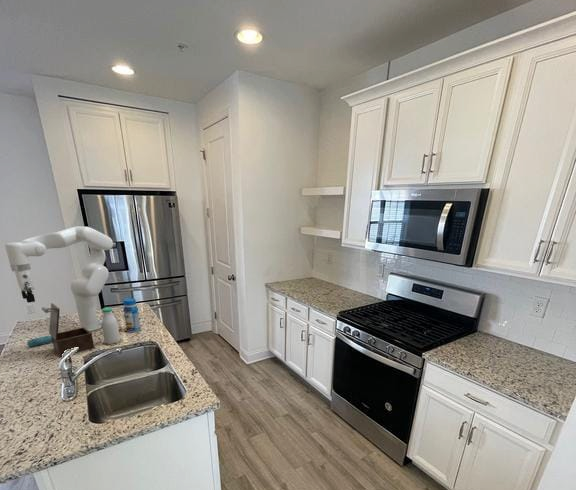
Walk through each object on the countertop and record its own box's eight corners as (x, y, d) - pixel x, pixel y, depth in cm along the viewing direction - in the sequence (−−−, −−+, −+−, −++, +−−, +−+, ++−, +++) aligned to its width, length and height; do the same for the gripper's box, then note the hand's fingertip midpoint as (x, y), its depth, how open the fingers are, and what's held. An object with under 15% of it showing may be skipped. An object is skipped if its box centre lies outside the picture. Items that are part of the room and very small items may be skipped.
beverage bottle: (142, 330, 194) (138, 300, 187) (127, 333, 190) (122, 302, 183) (139, 326, 201) (135, 296, 194) (125, 328, 196) (120, 298, 189)
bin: (86, 341, 177) (83, 327, 174) (94, 348, 169) (91, 333, 166) (54, 349, 166) (50, 334, 163) (60, 357, 158) (56, 341, 155)
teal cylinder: (51, 340, 177) (50, 334, 175) (53, 342, 174) (52, 336, 173) (27, 346, 169) (25, 339, 167) (29, 348, 166) (27, 341, 165)
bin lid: (52, 303, 160) (40, 302, 156) (59, 308, 152) (46, 308, 148) (51, 333, 163) (38, 334, 159) (57, 340, 155) (44, 341, 151)
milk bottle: (122, 341, 178) (117, 308, 171) (107, 345, 172) (101, 311, 166) (117, 337, 183) (111, 305, 176) (103, 341, 177) (96, 308, 171)
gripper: (34, 269, 154) (42, 302, 159) (26, 264, 164) (34, 295, 170) (14, 270, 148) (23, 305, 154) (7, 266, 159) (16, 298, 165)
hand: (29, 300), depth 162 cm, fingers open, 9 cm apart
